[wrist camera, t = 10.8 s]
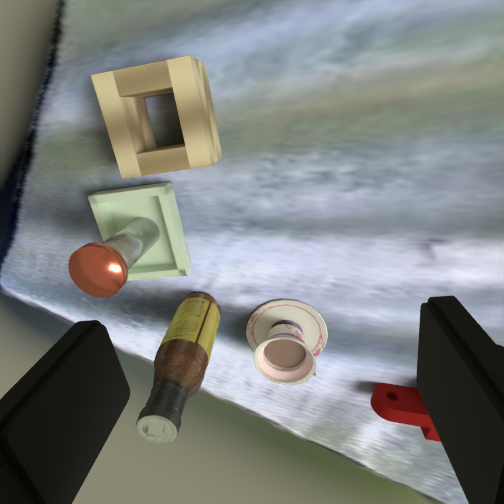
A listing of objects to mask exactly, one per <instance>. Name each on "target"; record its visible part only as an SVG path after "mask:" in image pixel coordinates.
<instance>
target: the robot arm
mask: <svg viewBox="0 0 504 504" xmlns="http://www.w3.org/2000/svg"><path fill="white" fill-rule="evenodd" d="M417 386H418V390H419V393H420V395H421V398H422V400H423V402H424V404H425V407H426V409H427V411H428V413H429V415H430V418H431V420H432V422H433V424H434V427H435V429H436V431H437V433H438V436H439V438H440V440H441V442H442V444H443V447H444V449H445V451H446V453H447V456H448V458H449V460H450V462H451V464H452V467H453V469H454V471H455V473H456V476H457V478H458V480H459V482H460V485H461V487H462V489H463V491H464V493H465V496H466V498H467V500H468V502H469V504H504V347H503V346H501V345H496V344H495V343H494V341H493V340H492V339H491V338H490V337H489V336H488V334H487V333H486V332H485V331H484V330H483V329H482V327H481V326H480V325H479V324H478V323H477V322H476V321H475V319H474V318H473V317H472V316H471V315H470V314H469V312H468V311H467V310H466V309H465V308H464V307H463V305H462V304H461V303H460V302H459V301H458V300H457V298H455V297H454V296H441V297H430V298H429V299H428V302H427V303H422V305H421V310H420V328H419V345H418V362H417ZM129 397H130V388H129V385H128V382H127V380H126V378H125V375H124V372H123V370H122V367H121V365H120V362H119V360H118V357H117V355H116V352H115V349H114V347H113V344H112V342H111V339H110V337H109V334H108V331H107V329H106V327H105V326H104V325H102V324H101V323H100V322H99V321H97V320H90V321H79V322H77V323H75V324H74V325H73V326H72V327H71V328H70V329H69V330H68V332H66V333H65V334H64V335H63V336H62V337H61V339H60V340H59V341H58V342H57V343H56V344H55V345H54V346H53V347H52V348H51V349H50V350H49V351H48V352H47V353H46V354H45V355H44V356H43V357H42V358H41V359H40V360H39V361H38V362H37V363H36V364H35V365H34V366H33V367H32V368H31V369H30V370H29V371H28V372H27V373H26V374H25V375H24V376H23V377H22V378H21V379H20V380H19V381H18V382H17V383H16V384H15V385H14V386H13V387H12V388H11V389H10V390H9V391H8V392H7V393H6V394H5V395H4V396H3V397H2V398H1V400H0V504H72V502H73V500H74V499H75V497H76V495H77V493H78V491H79V489H80V487H81V486H82V484H83V482H84V480H85V479H86V477H87V475H88V473H89V471H90V469H91V468H92V466H93V464H94V462H95V460H96V458H97V457H98V455H99V453H100V451H101V449H102V448H103V446H104V444H105V442H106V440H107V438H108V437H109V435H110V433H111V431H112V429H113V428H114V426H115V424H116V422H117V420H118V418H119V417H120V415H121V413H122V411H123V409H124V407H125V406H126V404H127V402H128V400H129Z"/></svg>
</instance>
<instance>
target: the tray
mask: <svg viewBox="0 0 504 504" xmlns="http://www.w3.org/2000/svg"><path fill="white" fill-rule="evenodd" d="M88 199H89V202H90V205H91V208H92V210H93V213H94V216H95V219H96V222H97V225H98V227H99V230H100V233H101V236H102V239H103V242H104V241H106V240H107V239H108V238H110V237H111V236H113V235H114V234H116V233H117V232H118V231H120V230H121V229H123V228H124V227H126V226H127V225H128V224H130V223H131V222H133V221H134V220H136V219H137V218H141V217H145V218H149V219H151V220H153V221H154V222H155V223H156V224H157V226H158V227H159V230H160V237H159V240H158V241H157V242H156V243H155V244H154V245H153V246H152V247H151V248H150V249H149V250H148V251H147V252H146V253H145V254H144V255H143V256H142V257H141V258H140V259H139V260H138V261H137V262H136V263H135V264H134V265H133V266H132V267H131V268H130V269H129V270H128V278H127V281H132V280H143V279H154V278H166V277H177V276H187V275H188V273H189V271H190V270H191V268H192V264H191V260H190V256H189V252H188V248H187V244H186V240H185V235H184V231H183V227H182V223H181V219H180V215H179V211H178V207H177V203H176V199H175V195H174V191H173V187H172V183H171V182H165V183H158V184H150V185H143V186H136V187H128V188H121V189H114V190H106V191H99V192H97V193H94V194H92V195H90V196H88Z"/></svg>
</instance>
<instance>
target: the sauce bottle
mask: <svg viewBox="0 0 504 504" xmlns="http://www.w3.org/2000/svg"><path fill="white" fill-rule="evenodd" d="M219 322H220V306H219V305H218V303H217V302H216V300H215V299H213V297H211V296H210V295H208V294H204V293H192V294H190V295H188V296H186V297H185V298H184V299H183V300H182V302H181V304H180V305H179V307H178V309H177V311H176V313H175V315H174V317H173V319H172V321H171V324H170V326H169V328H168V330H167V332H166V334H165V336H164V338H163V340H162V342H161V345H160V347H159V349H158V351H157V354H156V357H155V360H154V367H155V374H154V382H153V388H152V390H151V395H150V397H149V399H148V402H147V404H146V406H145V407H144V408H143V410H142V411H141V412H140V415H139V417H138V420H137V423H136V427H137V430H138V432H139V434H140V435H141V436H142V437H143V438H144V439H145V440H147V441H149V442H152V443H158V444H162V443H169V442H171V441H173V440H174V439H175V438H176V436H177V434H178V432H179V429H180V426H181V415H182V412H183V409H184V406H185V404H186V402H187V399H188V398H190V397H191V396H192V395H194V394H195V393H196V392H197V391H198V390H199V388H200V386H201V383H202V381H203V379H204V374H205V371H206V368H207V366H208V363H209V359H210V355H211V351H212V348H213V344H214V340H215V336H216V333H217V329H218V325H219Z"/></svg>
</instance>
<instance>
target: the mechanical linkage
mask: <svg viewBox="0 0 504 504" xmlns="http://www.w3.org/2000/svg"><path fill="white" fill-rule="evenodd" d="M371 406H372V408H373V410H374V411H375V412H376V413H377V414H378V415H379V416H380V417H382V418H383V419H385V420H388V421H391V422H397V423H403V424H409V425H415V426H420V427H421V429H422V432H423V434H424V437H425V439H428V440H434V441H440V442H441V440H440V438H439V436H438V433H437V431H436V429H435V427H434V424H433V422H432V420H431V418H430V415H429V413H428V411H427V409H426V407H425V404H424V402H423V400H422V398H421V395H420V393H419V390H418V388H411V387H405V386H399V385H393V384H386V383H379V384H377V385H376V387H375V389H374V392H373V395H372V397H371Z"/></svg>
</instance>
